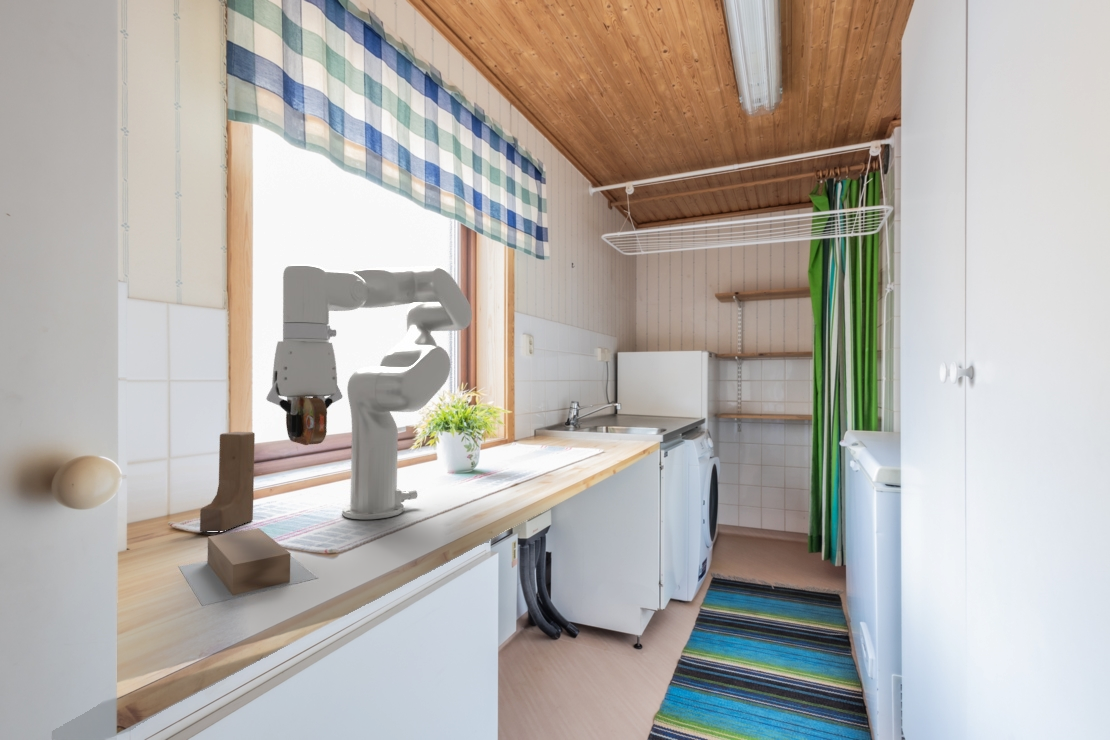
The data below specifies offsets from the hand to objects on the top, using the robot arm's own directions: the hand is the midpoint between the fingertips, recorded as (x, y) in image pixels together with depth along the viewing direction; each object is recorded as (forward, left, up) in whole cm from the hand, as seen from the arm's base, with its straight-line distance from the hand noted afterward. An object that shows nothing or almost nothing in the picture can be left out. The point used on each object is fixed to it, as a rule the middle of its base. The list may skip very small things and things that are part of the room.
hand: (305, 434), depth 97 cm
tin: (0, 0, -2) cm, 2 cm away
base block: (+12, +14, -18) cm, 26 cm away
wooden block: (+8, -18, -19) cm, 27 cm away
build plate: (+12, +14, -19) cm, 27 cm away
